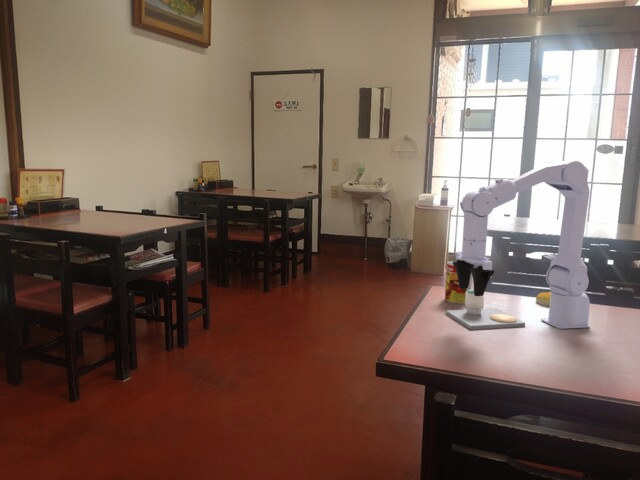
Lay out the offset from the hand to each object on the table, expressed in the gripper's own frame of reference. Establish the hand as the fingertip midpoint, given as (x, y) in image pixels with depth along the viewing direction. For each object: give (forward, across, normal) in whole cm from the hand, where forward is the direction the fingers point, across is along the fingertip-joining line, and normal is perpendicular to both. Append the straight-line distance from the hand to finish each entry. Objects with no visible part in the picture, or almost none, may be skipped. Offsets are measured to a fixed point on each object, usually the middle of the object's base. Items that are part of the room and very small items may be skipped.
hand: (471, 291), depth 127 cm
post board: (+10, -7, +8) cm, 15 cm away
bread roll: (+11, -19, +39) cm, 45 cm away
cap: (+7, -10, +7) cm, 14 cm away
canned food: (+10, -27, +11) cm, 31 cm away
